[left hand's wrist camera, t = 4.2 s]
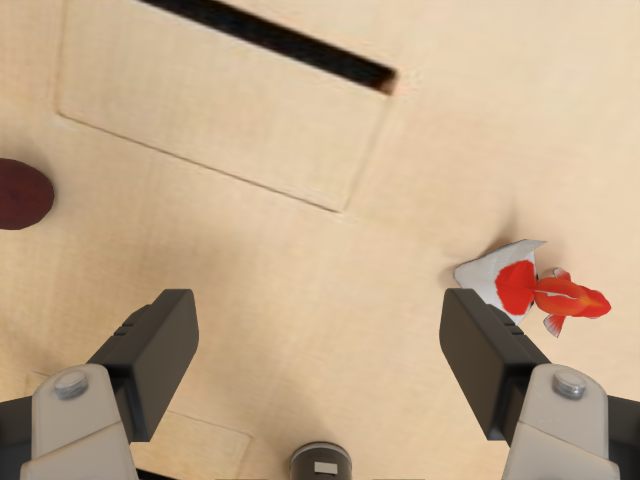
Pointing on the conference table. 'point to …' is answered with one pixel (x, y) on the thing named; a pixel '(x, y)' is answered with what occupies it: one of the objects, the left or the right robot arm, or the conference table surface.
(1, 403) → the left robot arm
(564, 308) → the fish
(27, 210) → the potato
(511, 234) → the conference table surface
